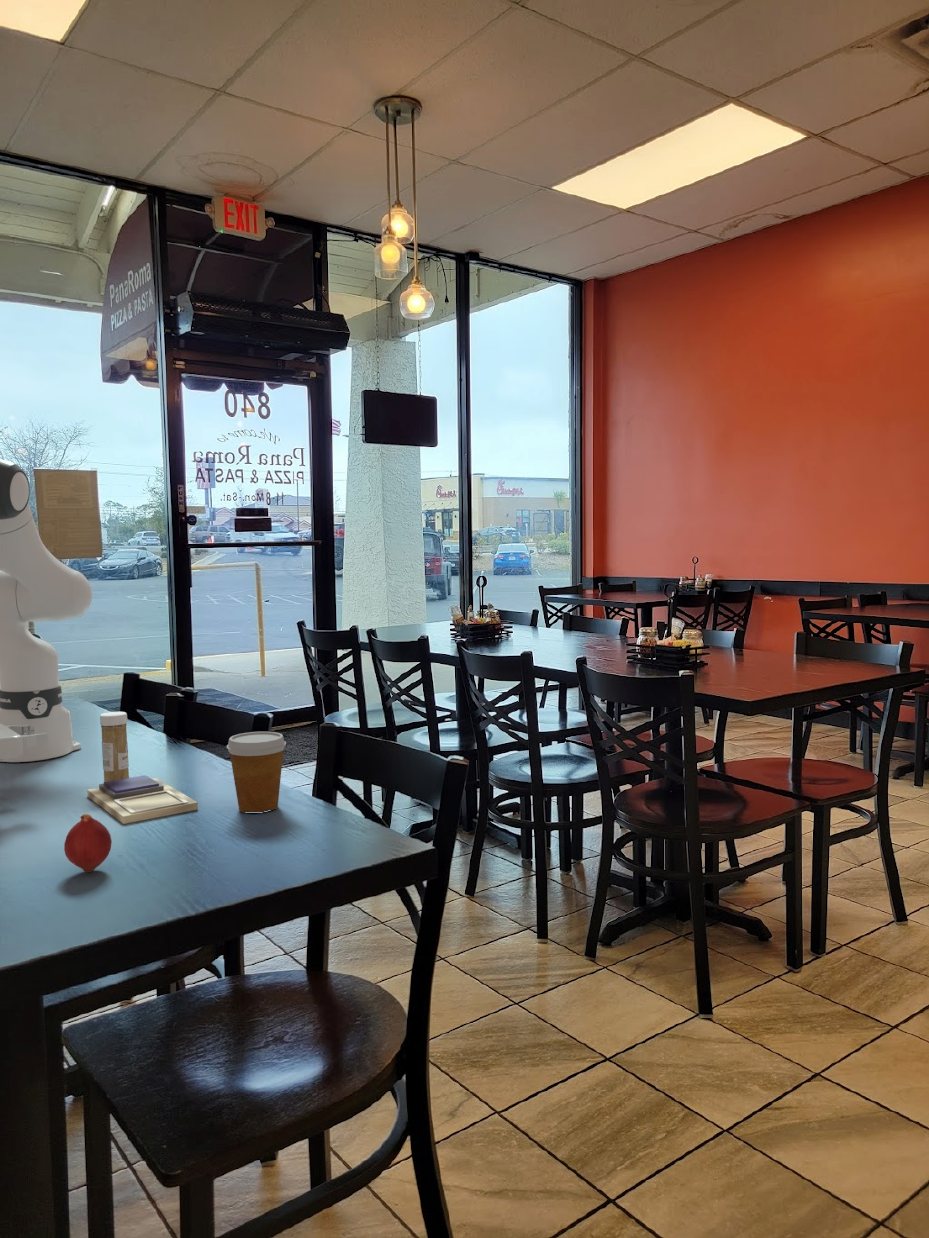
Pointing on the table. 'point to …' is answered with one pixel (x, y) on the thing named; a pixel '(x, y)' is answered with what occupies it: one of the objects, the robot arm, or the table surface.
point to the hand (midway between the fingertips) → (40, 733)
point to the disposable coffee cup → (257, 769)
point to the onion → (87, 843)
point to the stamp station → (140, 799)
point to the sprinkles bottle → (114, 746)
